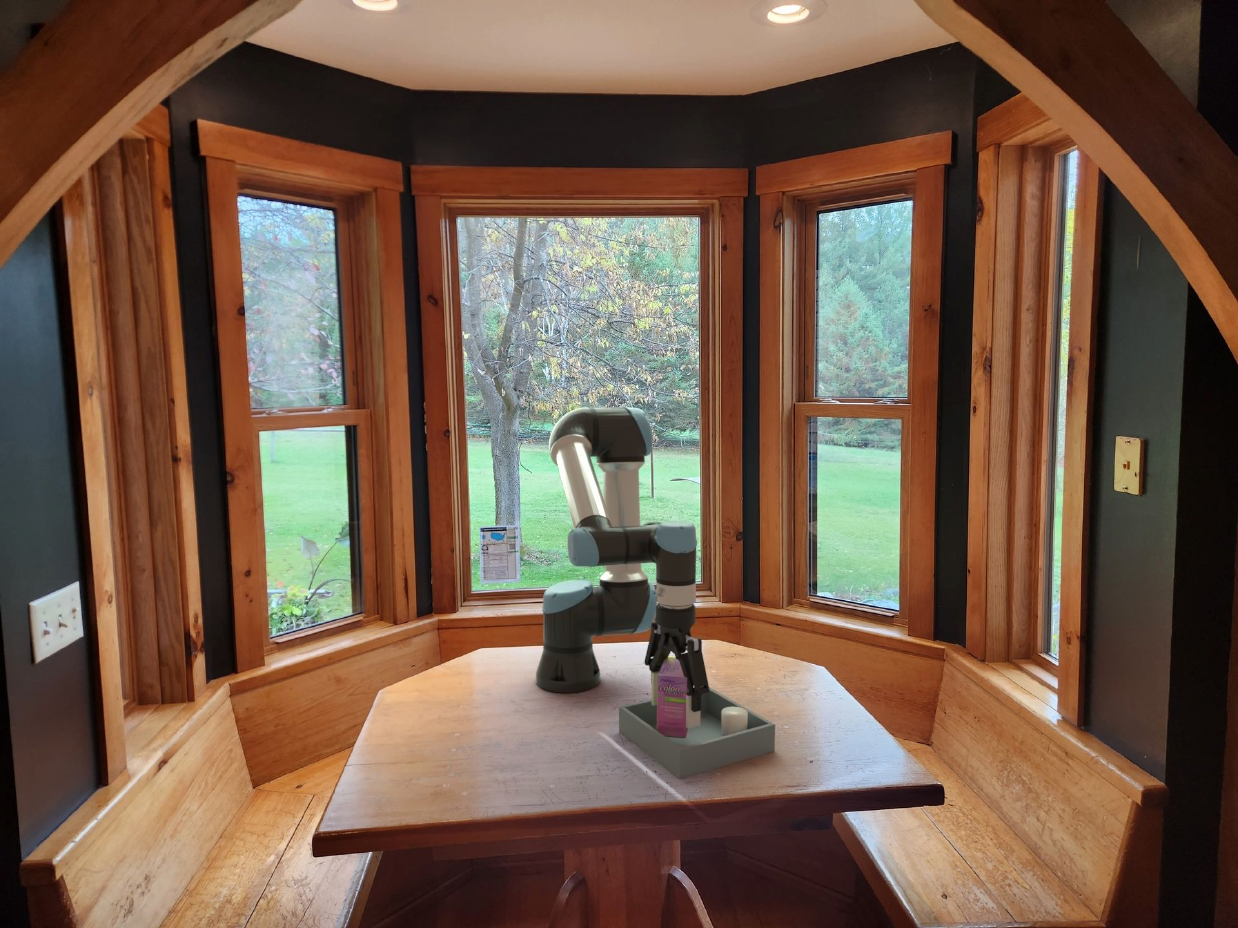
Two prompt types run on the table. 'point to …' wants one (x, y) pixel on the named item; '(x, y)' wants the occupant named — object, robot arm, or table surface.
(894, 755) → the table surface
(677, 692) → the box
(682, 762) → the crate
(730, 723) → the cream bullet shape
